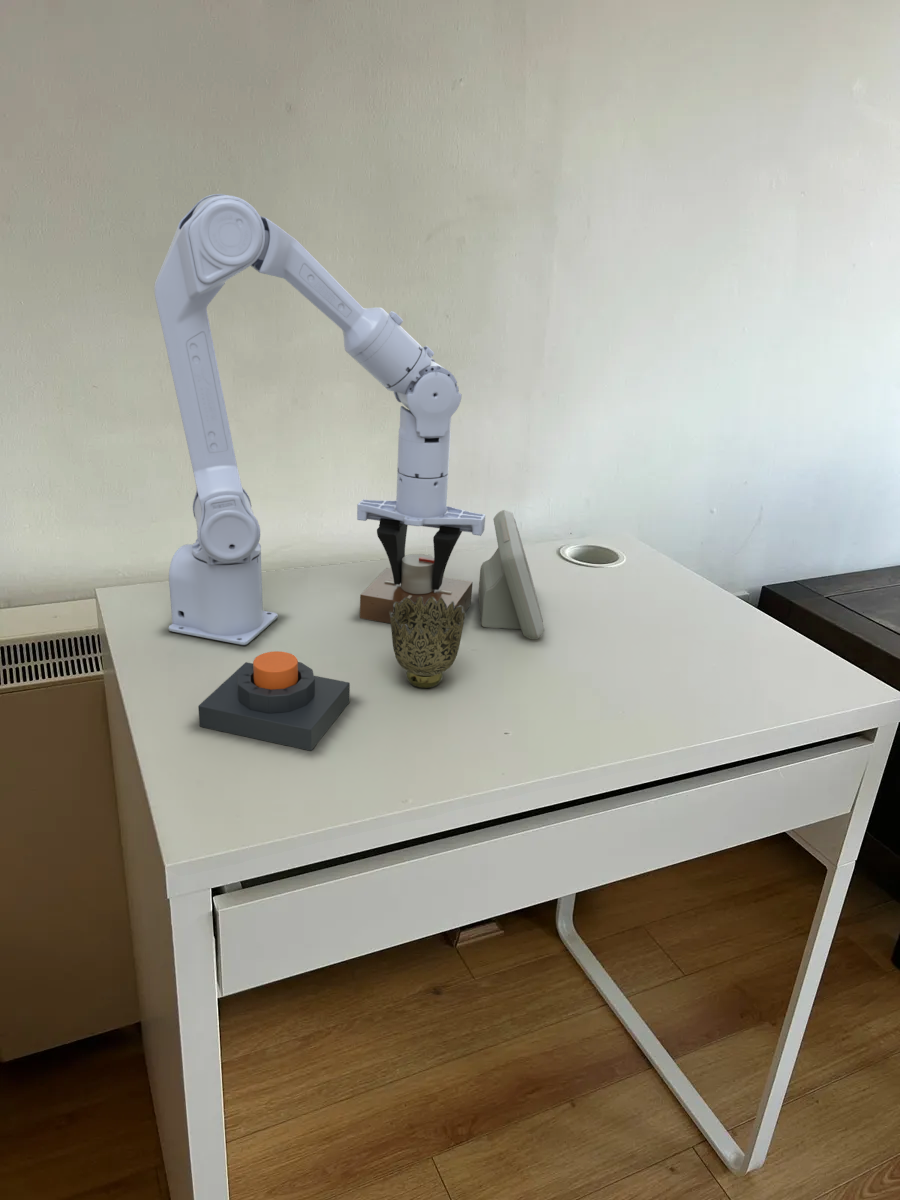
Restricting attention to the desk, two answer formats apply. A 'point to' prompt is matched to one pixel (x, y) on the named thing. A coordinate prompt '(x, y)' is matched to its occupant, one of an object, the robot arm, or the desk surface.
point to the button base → (276, 708)
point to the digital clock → (509, 584)
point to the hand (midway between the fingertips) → (417, 583)
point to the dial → (417, 573)
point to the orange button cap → (275, 670)
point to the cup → (426, 638)
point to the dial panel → (408, 596)
